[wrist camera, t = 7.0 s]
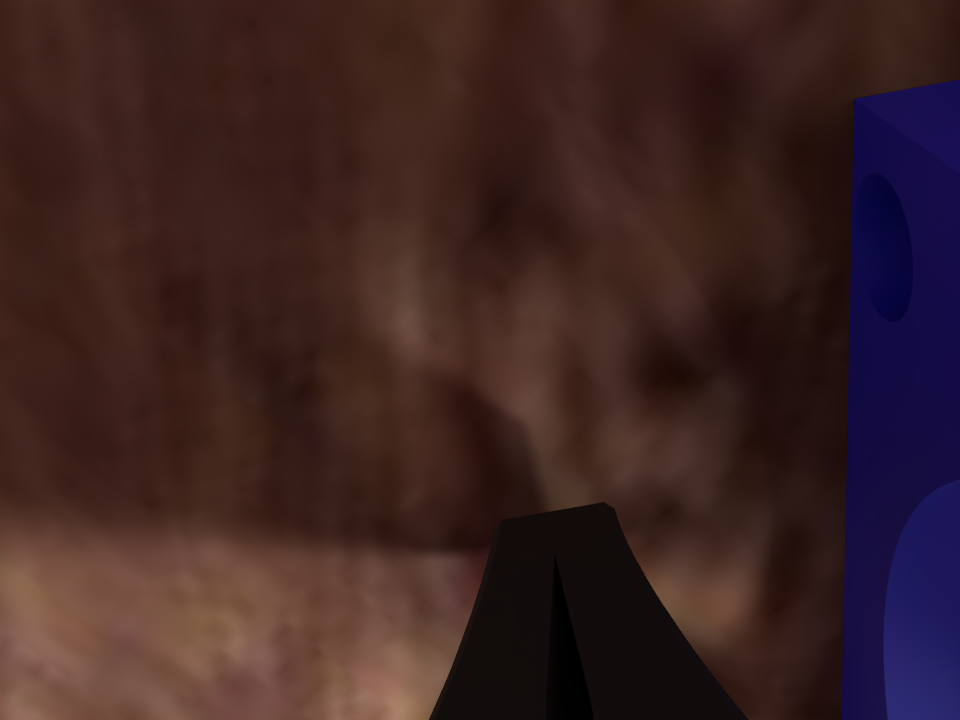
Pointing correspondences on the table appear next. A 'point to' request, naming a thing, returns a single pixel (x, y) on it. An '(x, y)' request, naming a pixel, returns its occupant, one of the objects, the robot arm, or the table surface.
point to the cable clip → (904, 410)
